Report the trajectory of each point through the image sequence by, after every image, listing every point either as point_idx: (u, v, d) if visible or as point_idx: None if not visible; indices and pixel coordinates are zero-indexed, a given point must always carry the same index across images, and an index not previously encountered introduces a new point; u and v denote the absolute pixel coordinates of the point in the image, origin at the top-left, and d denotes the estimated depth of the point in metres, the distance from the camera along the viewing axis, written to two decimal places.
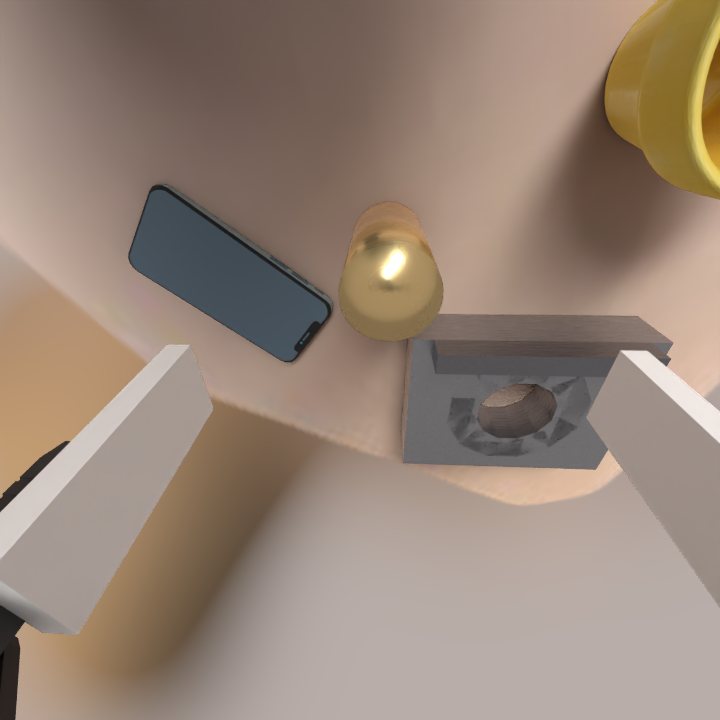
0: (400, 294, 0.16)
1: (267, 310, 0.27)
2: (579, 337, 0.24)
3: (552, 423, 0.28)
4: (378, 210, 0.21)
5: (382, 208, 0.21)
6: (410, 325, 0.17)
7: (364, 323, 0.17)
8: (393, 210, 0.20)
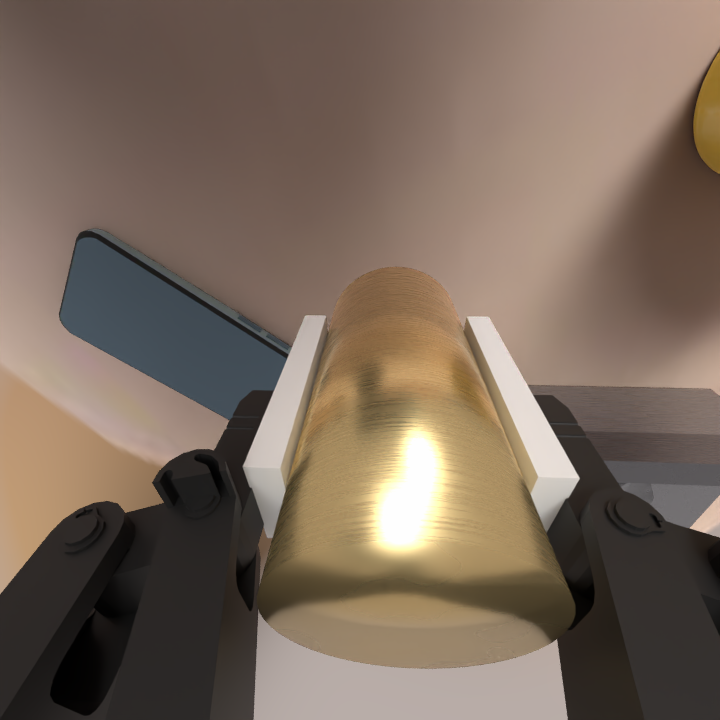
0: (440, 619, 0.05)
1: (237, 380, 0.21)
2: (644, 425, 0.18)
3: None
4: (376, 294, 0.10)
5: (384, 289, 0.11)
6: (461, 655, 0.06)
7: (337, 647, 0.06)
8: (406, 298, 0.10)
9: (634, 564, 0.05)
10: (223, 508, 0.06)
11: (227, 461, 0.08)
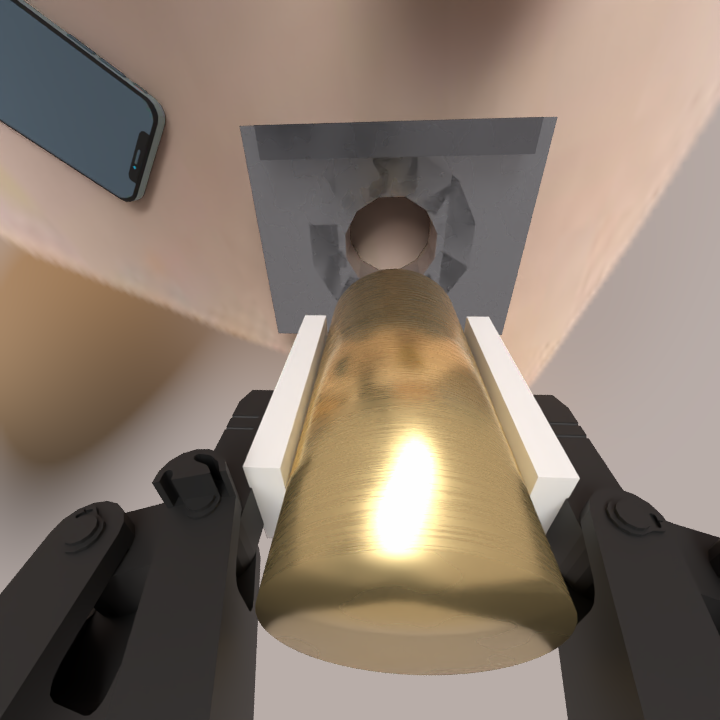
0: (440, 627, 0.05)
1: (82, 118, 0.22)
2: None
3: (436, 261, 0.23)
4: (376, 296, 0.10)
5: (384, 291, 0.11)
6: (461, 662, 0.06)
7: (337, 654, 0.06)
8: (406, 300, 0.10)
9: (635, 564, 0.05)
10: (223, 508, 0.06)
11: (227, 461, 0.08)
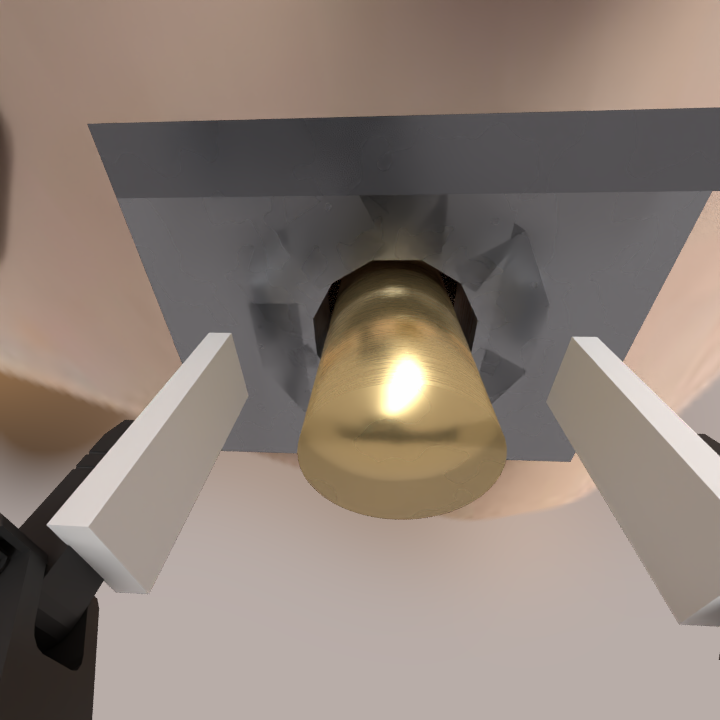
0: (420, 460, 0.08)
1: None
2: None
3: None
4: (376, 261, 0.13)
5: None
6: (436, 501, 0.09)
7: (350, 496, 0.09)
8: (400, 263, 0.13)
9: None
10: (11, 569, 0.05)
11: (57, 510, 0.07)
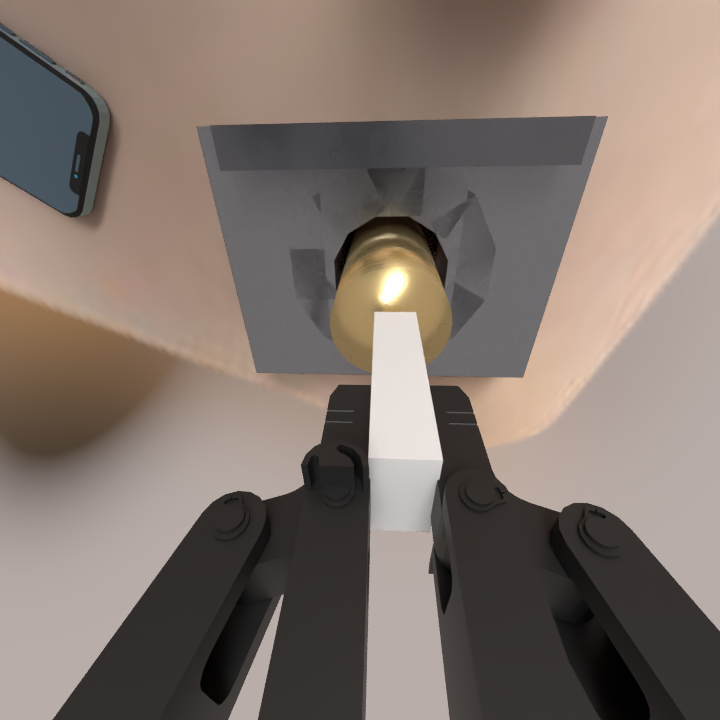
0: None
1: (6, 116, 0.18)
2: None
3: (446, 293, 0.19)
4: (378, 221, 0.19)
5: (382, 219, 0.19)
6: None
7: (360, 355, 0.15)
8: (395, 222, 0.18)
9: (479, 541, 0.05)
10: (358, 503, 0.06)
11: None
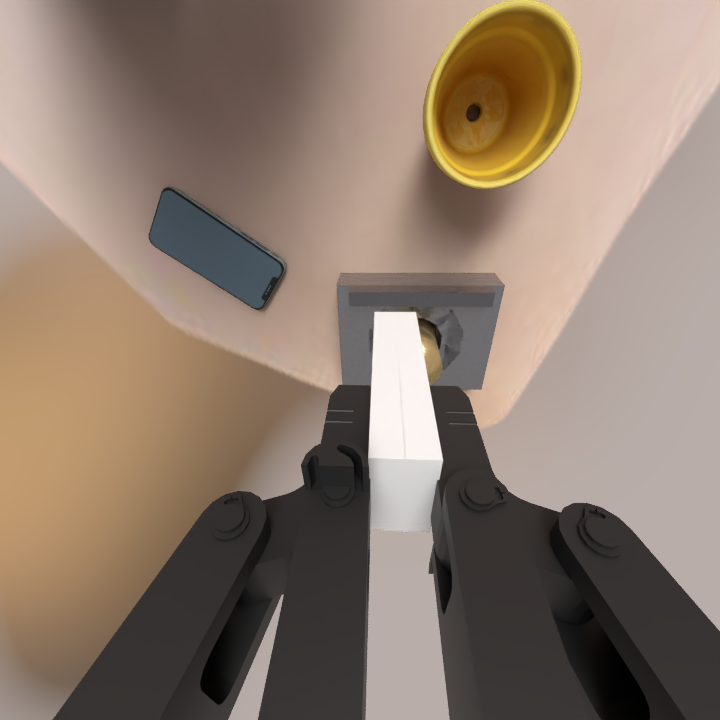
0: None
1: (241, 270, 0.40)
2: (446, 283, 0.36)
3: (441, 349, 0.40)
4: None
5: None
6: None
7: None
8: None
9: (479, 541, 0.05)
10: (358, 503, 0.06)
11: None
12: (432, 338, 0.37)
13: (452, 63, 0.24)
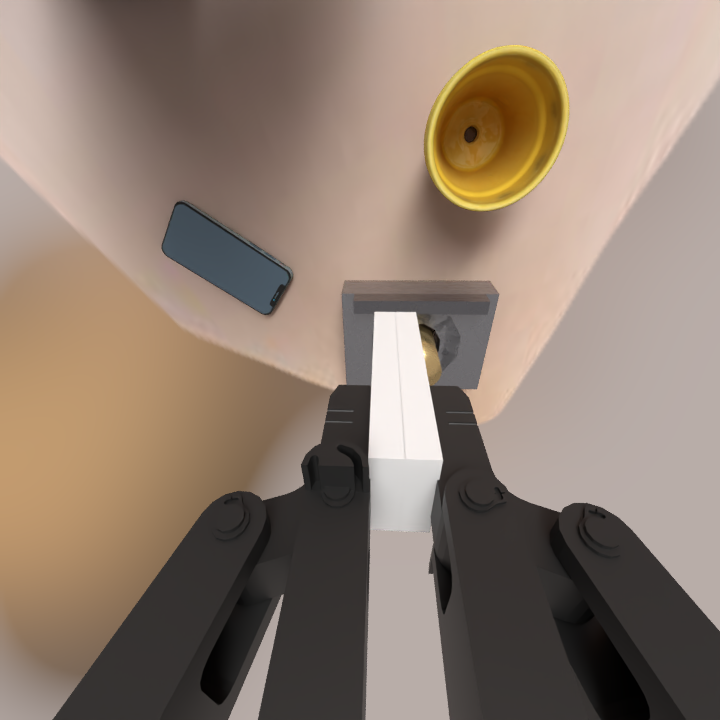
0: None
1: (250, 278, 0.42)
2: (444, 291, 0.39)
3: (439, 352, 0.43)
4: None
5: None
6: None
7: None
8: None
9: (479, 541, 0.05)
10: (358, 503, 0.06)
11: None
12: (432, 343, 0.39)
13: (451, 96, 0.26)
